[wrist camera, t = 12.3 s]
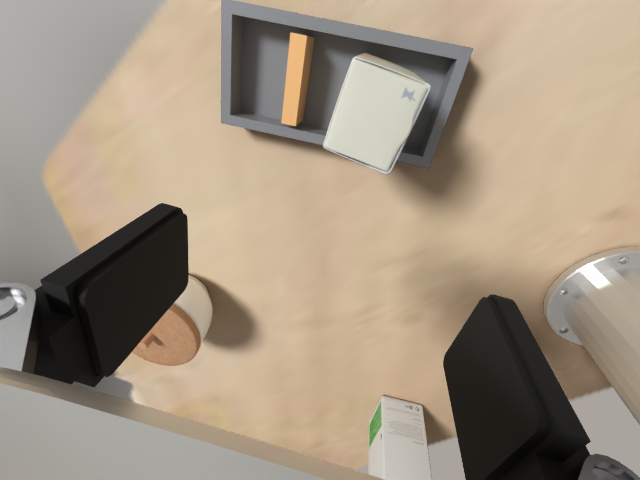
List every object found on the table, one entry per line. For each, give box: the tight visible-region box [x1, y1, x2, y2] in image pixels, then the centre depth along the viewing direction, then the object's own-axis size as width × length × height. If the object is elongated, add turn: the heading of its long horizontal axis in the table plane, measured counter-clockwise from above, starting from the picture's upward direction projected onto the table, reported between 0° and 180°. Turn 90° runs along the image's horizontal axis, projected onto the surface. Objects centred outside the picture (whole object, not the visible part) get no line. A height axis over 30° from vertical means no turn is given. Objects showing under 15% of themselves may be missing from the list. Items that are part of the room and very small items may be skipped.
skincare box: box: [369, 396, 432, 480], centre depth 42 cm, size 8×7×16 cm
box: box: [323, 53, 431, 174], centre depth 21 cm, size 5×4×11 cm
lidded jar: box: [132, 274, 212, 366], centre depth 38 cm, size 11×11×9 cm
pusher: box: [281, 33, 314, 126], centre depth 25 cm, size 1×6×3 cm, turn 170°
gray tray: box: [221, 0, 473, 168], centre depth 25 cm, size 18×9×3 cm, turn 80°
